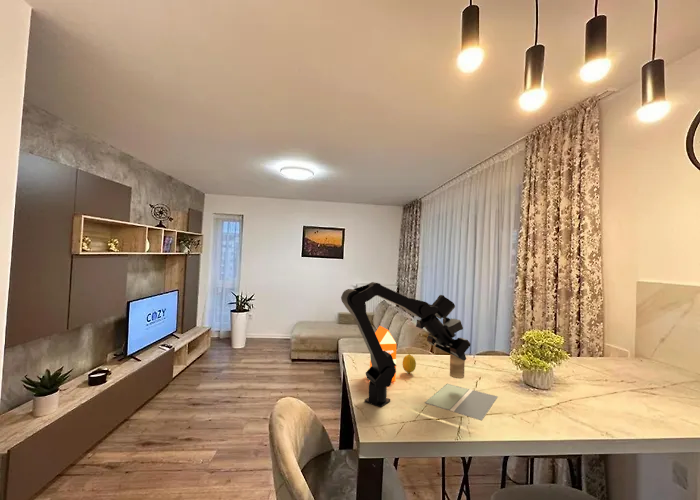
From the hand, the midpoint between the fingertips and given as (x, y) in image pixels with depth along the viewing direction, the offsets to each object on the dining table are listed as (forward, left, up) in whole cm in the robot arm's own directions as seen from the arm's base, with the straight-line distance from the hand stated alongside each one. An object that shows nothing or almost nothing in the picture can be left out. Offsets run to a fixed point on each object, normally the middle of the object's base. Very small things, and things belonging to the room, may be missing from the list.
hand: (460, 357), depth 116 cm
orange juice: (-7, +29, -13) cm, 32 cm away
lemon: (+5, +23, -13) cm, 27 cm away
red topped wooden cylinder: (-1, +1, -7) cm, 7 cm away
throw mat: (-8, -3, -12) cm, 15 cm away
